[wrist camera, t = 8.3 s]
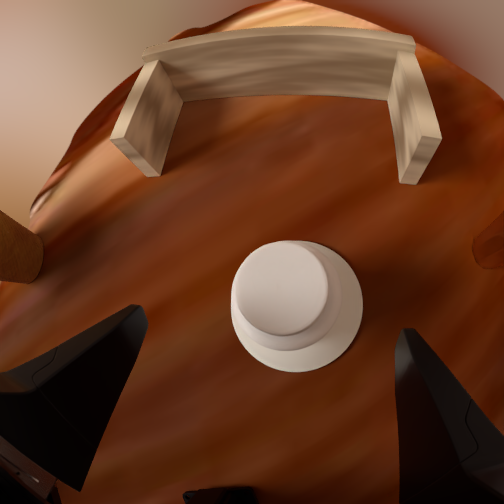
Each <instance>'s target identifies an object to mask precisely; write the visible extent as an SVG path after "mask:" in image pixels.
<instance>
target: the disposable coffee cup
mask: <svg viewBox="0 0 504 504" xmlns="http://www.w3.org/2000/svg"><path fill="white" fill-rule="evenodd" d="M43 255H44V248H43V242H42V240H41V238H40V237H39V236H37V235H36V234H34V233H33V232H31V231H30V230H28V229H27V228H25V227H24V226H22V225H21V224H19V223H18V222H16V221H15V220H13V219H12V218H10V217H9V216H7V215H6V214H5V213H3V212H2V211H1V210H0V281H8V282H17V283H25V284H28V283H31V282H32V281H33V280H34V279H35V278H36V277H37V275H38V273H39V271H40V268H41V266H42V261H43Z"/></svg>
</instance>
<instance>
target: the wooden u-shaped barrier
mask: <svg viewBox="0 0 504 504" xmlns="http://www.w3.org/2000/svg"><path fill="white" fill-rule="evenodd" d="M415 48H416V44H415V42H414V40H413V38H412V36H408V35H403V34H397V33H391V32H384V31H376V30H368V29H358V28H346V27H328V26H282V27H264V28H252V29H242V30H233V31H225V32H218V33H212V34H206V35H200V36H195V37H189V38H184V39H180V40H175V41H171V42H167V43H163V44H159V45H155V46H151V47H147V48H146V50H145V51H144V53H143V55H142V59H143V60H144V62H145V65H144V67H143V68H142V70H141V72H140V74H139V76H138V78H137V80H136V82H135V84H134V86H133V88H132V90H131V92H130V94H129V96H128V98H127V100H126V102H125V105H124V107H123V109H122V111H121V113H120V116H119V118H118V120H117V122H116V125H115V127H114V130H113V132H112V134H111V137H110V139H109V140H110V141H111V142H112V143H113V144H114V145H115V146H116V147H117V148H118V149H119V150H120V151H121V152H122V153H123V154H124V155H125V156H126V157H127V158H128V159H129V160H130V161H131V162H132V163H133V164H135V165H136V166H137V167H138V168H139V169H140V170H141V171H142V172H143V173H144V174H145V175H146V176H147V177H152V176H160V175H161V172H162V168H163V165H164V161H165V158H166V154H167V151H168V148H169V144H170V141H171V138H172V135H173V132H174V128H175V125H176V122H177V119H178V116H179V113H180V110H181V107H182V105H183V102H188V101H196V100H204V99H214V98H225V97H239V96H257V95H325V96H344V97H357V98H368V99H377V100H386V101H388V106H389V111H390V117H391V122H392V128H393V135H394V141H395V148H396V156H397V164H398V173H399V182H400V183H405V184H414V185H416V184H417V182H418V181H419V179H420V177H421V176H422V174H423V172H424V170H425V169H426V167H427V165H428V164H429V162H430V160H431V158H432V157H433V155H434V153H435V151H436V149H437V148H438V146H439V144H440V142H441V140H442V136H441V132H440V129H439V125H438V121H437V118H436V114H435V111H434V107H433V104H432V101H431V98H430V95H429V92H428V89H427V86H426V83H425V80H424V77H423V75H422V72H421V69H420V67H419V64H418V61H417V59H416V57H415V54H414V52H415Z"/></svg>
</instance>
